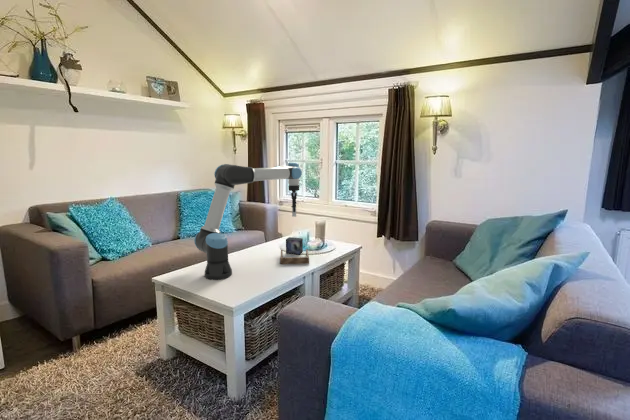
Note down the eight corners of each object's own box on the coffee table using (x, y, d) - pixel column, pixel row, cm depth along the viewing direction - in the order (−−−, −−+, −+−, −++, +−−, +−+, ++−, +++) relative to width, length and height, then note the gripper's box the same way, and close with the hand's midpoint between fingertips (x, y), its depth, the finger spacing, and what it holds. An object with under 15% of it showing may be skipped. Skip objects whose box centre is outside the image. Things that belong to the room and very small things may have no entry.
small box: (285, 254, 234) (285, 239, 232) (288, 251, 240) (288, 236, 238) (299, 255, 231) (299, 240, 229) (303, 252, 237) (303, 238, 235)
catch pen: (280, 264, 213) (280, 258, 213) (281, 255, 231) (281, 249, 230) (309, 263, 215) (309, 257, 214) (307, 254, 232) (307, 249, 231)
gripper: (299, 186, 226) (299, 218, 230) (298, 182, 250) (299, 211, 254) (288, 186, 225) (288, 218, 229) (288, 182, 250) (289, 211, 254)
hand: (294, 214), depth 242 cm, fingers open, 13 cm apart
